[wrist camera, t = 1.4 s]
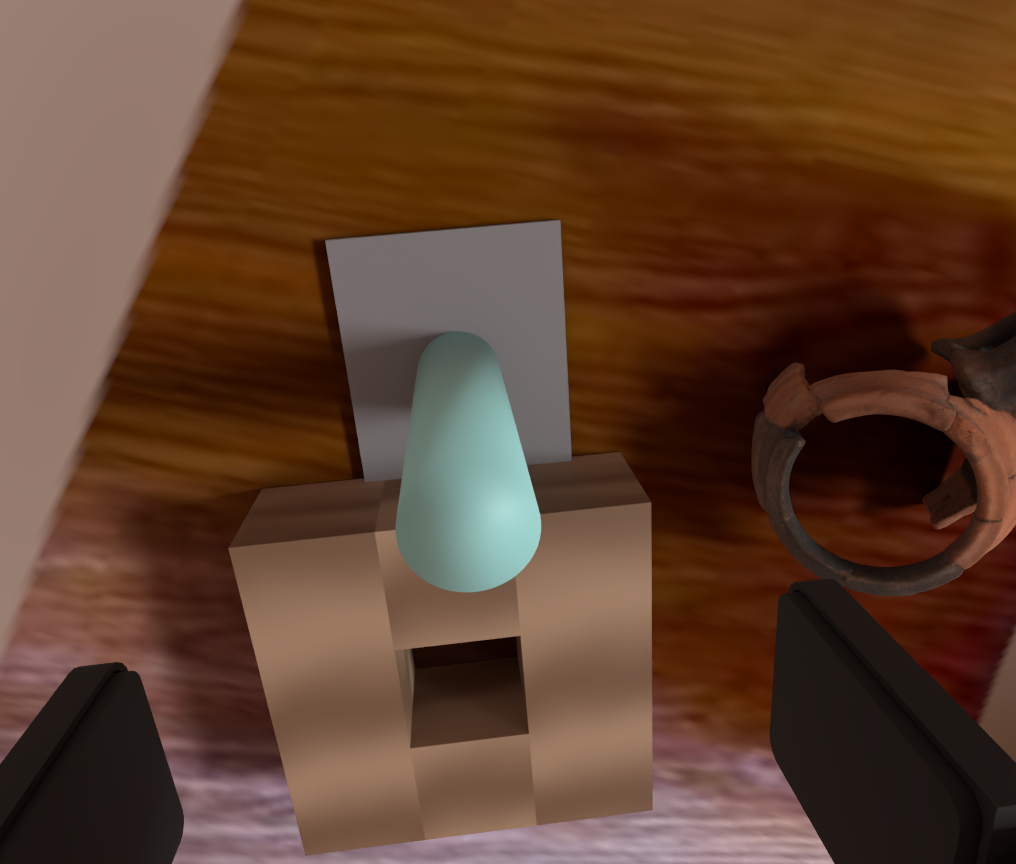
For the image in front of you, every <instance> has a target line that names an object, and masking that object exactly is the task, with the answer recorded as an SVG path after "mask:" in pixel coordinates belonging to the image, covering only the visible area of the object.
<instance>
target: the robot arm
mask: <svg viewBox="0 0 1016 864" xmlns="http://www.w3.org/2000/svg"><path fill="white" fill-rule="evenodd" d="M770 742H771V747H772V751H773V754H774V757H775V759H776V761H777V764H778V765H779V767H780V769H781V771H782V772H783V774H784V776H785V778H786V779H787V781H788V783H789V785H790V786H791V788H792V790H793V792H794V793H795V795H796V797H797V799H798V800H799V802H800V804H801V806H802V807H803V809H804V811H805V813H806V814H807V816H808V818H809V820H810V821H811V823H812V825H813V827H814V828H815V830H816V832H817V834H818V835H819V837H820V839H821V841H822V842H823V844H824V846H825V848H826V849H827V851H828V853H829V855H830V856H831V858H832V860H833V862H834V863H835V864H1016V763H1015V762H1014V761H1013V760H1012V759H1011V757H1009V755H1008V754H1007V753H1006V752H1005V751H1003V749H1002V748H1001V747H1000V746H999V745H998V744H997V743H996V742H995V741H994V740H993V739H992V738H991V737H990V736H989V735H988V734H987V733H986V732H985V731H984V730H983V729H982V728H981V727H980V726H979V725H978V724H977V723H976V722H975V721H974V720H973V719H972V718H971V717H970V716H969V715H968V714H967V713H966V712H965V710H964V709H963V708H962V707H961V706H960V705H959V704H958V703H957V702H956V701H955V700H954V699H953V698H952V697H951V696H950V695H949V694H948V693H947V692H946V691H945V690H944V689H943V688H942V687H941V686H940V685H939V684H938V683H937V682H936V681H935V680H934V679H933V678H932V677H931V676H930V675H929V674H928V673H927V672H926V671H925V670H924V669H922V668H921V667H920V666H919V665H918V664H917V663H916V662H915V661H914V660H913V659H912V658H911V657H910V655H909V654H908V653H907V652H906V651H905V650H904V649H903V648H902V647H901V646H900V645H899V644H898V643H897V642H896V641H895V640H894V639H893V638H892V637H891V636H890V635H889V634H888V633H887V632H886V631H885V630H884V629H883V628H882V627H881V626H880V625H879V624H878V623H877V622H876V621H875V620H874V619H873V618H872V617H871V616H870V615H869V613H868V612H867V611H866V610H865V609H864V608H863V607H862V606H861V605H860V604H859V603H858V602H857V601H856V600H855V599H854V598H853V597H852V596H851V595H850V594H849V593H848V592H847V591H846V590H845V589H844V588H843V587H842V586H841V585H840V584H839V583H838V582H837V581H836V580H834V579H830V578H828V579H819V580H811V581H802V582H795V583H793V584H791V586H790V588H789V592H788V593H786V594H782V595H781V596H780V598H779V602H778V615H777V631H776V646H775V662H774V677H773V693H772V708H771V724H770ZM183 827H184V815H183V810H182V807H181V804H180V800H179V797H178V794H177V791H176V788H175V785H174V781H173V778H172V775H171V772H170V769H169V766H168V763H167V759H166V756H165V753H164V750H163V747H162V744H161V741H160V737H159V734H158V731H157V728H156V725H155V722H154V719H153V715H152V712H151V709H150V706H149V703H148V700H147V697H146V693H145V690H144V687H143V684H142V681H141V678H140V676H139V674H138V673H137V672H135V671H128V670H127V667H126V666H125V665H124V664H123V663H119V662H115V663H106V664H98V665H89V666H81V667H77V668H74V669H73V670H72V671H71V672H70V673H69V674H68V675H67V677H66V678H65V679H64V681H63V682H62V683H61V685H60V686H59V687H58V689H57V690H56V691H55V693H54V694H53V695H52V697H51V698H50V699H49V701H48V702H47V703H46V705H45V706H44V707H43V708H42V710H41V711H40V712H39V714H38V715H37V716H36V718H35V719H34V720H33V722H32V723H31V724H30V726H29V727H28V728H27V730H26V731H25V732H24V734H23V735H22V736H21V738H20V739H19V740H18V742H17V743H16V744H15V746H14V747H13V748H12V749H11V751H10V752H9V753H8V755H7V756H6V757H5V759H4V760H3V761H2V763H1V764H0V864H172V861H173V859H174V856H175V854H176V851H177V849H178V846H179V844H180V841H181V838H182V834H183Z"/></svg>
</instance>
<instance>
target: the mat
mask: <svg viewBox="0 0 1016 864" xmlns="http://www.w3.org/2000/svg"><path fill="white" fill-rule="evenodd" d="M325 243H326V249H327V255H328V261H329V267H330V273H331V279H332V285H333V291H334V297H335V303H336V309H337V315H338V321H339V327H340V333H341V340H342V346H343V352H344V358H345V364H346V370H347V376H348V382H349V388H350V394H351V400H352V406H353V412H354V418H355V424H356V430H357V436H358V443H359V449H360V455H361V461H362V467H363V473H364V479H365V482H373V481H383V480H393V479H402V474H403V467H404V460H405V453H406V446H407V438H408V431H409V424H410V417H411V410H412V402H413V395H414V388H415V381H416V374H417V367H418V362H419V358H420V356H421V354H422V352H423V350H424V349H425V347H426V346H427V345H428V344H429V343H430V342H431V341H432V340H433V339H435V338H436V337H438V336H440V335H442V334H445V333H448V332H454V331H462V332H468V333H472V334H474V335H477V336H479V337H480V338H482V339H483V340H485V341H486V342H487V343H488V344H489V345H490V346H491V347H492V349H493V350H494V352H495V354H496V356H497V359H498V362H499V366H500V369H501V373H502V377H503V380H504V384H505V388H506V391H507V395H508V399H509V402H510V406H511V410H512V413H513V417H514V421H515V424H516V428H517V432H518V435H519V439H520V443H521V446H522V450H523V454H524V457H525V461H526V465H536V464H546V463H555V462H565V461H572V455H571V434H570V414H569V393H568V372H567V351H566V331H565V310H564V289H563V268H562V247H561V227H560V220H559V219H558V220H546V221H535V222H523V223H512V224H500V225H489V226H477V227H465V228H454V229H442V230H431V231H419V232H408V233H396V234H385V235H373V236H362V237H350V238H339V239H327V240H325Z"/></svg>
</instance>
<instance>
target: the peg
mask: <svg viewBox="0 0 1016 864" xmlns="http://www.w3.org/2000/svg"><path fill="white" fill-rule="evenodd" d="M395 531H396V540H397V545H398V548H399V550H400V553H401V555H402V557H403V559H404V560H405V562H406V563H407V565H408V566H409V567H410V569H411V570H413V571H414V572H415V573H416V574H417V575H418V576H419V577H420V578H422V579H423V580H425V581H426V582H428V583H430V584H432V585H434V586H436V587H439V588H442V589H445V590H449V591H455V592H478V591H484V590H488V589H491V588H494V587H497V586H499V585H502V584H504V583H505V582H507V581H509V580H511V579H512V578H513V577H515V576H516V575H517V574H518V573H520V572H521V571H522V570H523V569H524V568H525V566H526V565H527V564H528V563H529V562H530V560H531V558H532V557H533V555H534V553H535V551H536V549H537V547H538V543H539V540H540V535H541V518H540V512H539V509H538V505H537V501H536V498H535V494H534V490H533V487H532V483H531V479H530V476H529V472H528V468H527V465H526V461H525V457H524V454H523V450H522V446H521V443H520V439H519V435H518V432H517V428H516V424H515V421H514V417H513V413H512V410H511V406H510V402H509V399H508V395H507V391H506V388H505V384H504V380H503V377H502V373H501V369H500V366H499V362H498V359H497V356H496V354H495V352H494V350H493V349H492V347H491V346H490V345H489V344H488V343H487V342H486V341H485V340H483V339H482V338H480V337H479V336H477V335H474V334H472V333H468V332H462V331H454V332H448V333H445V334H442V335H440V336H438V337H436V338H435V339H433V340H432V341H431V342H430V343H429V344H428V345H427V346H426V347H425V349H424V350H423V352H422V354H421V356H420V358H419V362H418V367H417V374H416V381H415V388H414V395H413V402H412V410H411V417H410V424H409V431H408V438H407V446H406V453H405V460H404V467H403V474H402V481H401V489H400V496H399V503H398V510H397V517H396V528H395Z"/></svg>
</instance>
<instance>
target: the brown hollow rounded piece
mask: <svg viewBox="0 0 1016 864" xmlns="http://www.w3.org/2000/svg"><path fill="white" fill-rule="evenodd" d="M931 351H932V352H934V353H936V354H937V355H939V356H941V357H943V358H944V359H946V360H947V361H949V362H950V363H951V365H952V368H953V370H954V373H955V376H956V379H957V381H958V383H959V388H960V390H961V392H962V394H963V395H964V397H965V398H961V397H956V396H953V395H950V393H949V392H948V381H947V376H945V375H941V374H937V373H926V372H917V371H902V370H881V371H869V372H855V373H846V374H841V375H836V376H833V377H829V378H826V379H823V380H821V381H818V382H815V383H813V384H812V385H809V384H808V382H807V380H806V379H805V366H804V365H803V364H800V363H797V362H795V363H792V364H791V365H790V366H788V367H787V368H786V369H785V370H783V371H782V372H781V374H780V375H779V376H778V377H777V378H776V379H775V380H774V381H772V383H771V384H770V386H769V387H768V390H767V394H766V395H765V396H764V398H763V403H764V410H763V411H761V412H760V413H759V414H758V415H757V417H756V419H755V422H754V431H753V438H752V454H751V459H752V463H751V467H752V477H753V484H754V488H755V491H756V495H757V499H758V502H759V505H760V506H761V508H762V509H763V510H765V511H766V512H767V513H768V516H769V518H770V524H771V526H772V528H773V529H774V531H775V532H776V534H777V535H778V538H779V540H780V542H781V543H782V544H783V545H784V546H785V547H786V548H787V550H788V551H789V552H790V553H791V554H792V556H793V557H794V558H795V559H796V560H797V561H798V562H799V563H800V564H801V565H803V566H804V567H805V568H807V569H808V570H810V571H811V572H812V573H813V574H815V575H817V576H818V577H820V578H822V579H828V578H830V579H834V580H836V581H837V582H838V583H839V584H840V585H841V586H842V587H847V588H848V589H850V590H854V591H859V592H863V593H870V594H874V595H877V596H881V595H888V596H904V595H914V594H916V593H918V592H923V591H927V590H930V589H933V588H936V587H938V586H941V585H943V584H945V583H947V582H949V581H951V580H953V579H955V578H957V577H959V576H960V575H961V574H962V572H963V570H965V569H967V568H969V567H971V566H972V565H973V564H975V563H976V562H977V561H978V560H979V559H980V558H981V557H982V556H983V555H984V554H986V553H987V552H989V551H990V550H991V549H993V548H994V547H995V546H996V545H998V544H999V543H1000V542H1001V541H1002V540H1003V539H1004V538H1005V537H1006V536H1007V535H1008V534H1009V532H1010V531H1011V530H1012V529H1013V527H1014V526H1015V525H1016V312H1014V313H1012V314H1010V315H1008V316H1007V317H1005V318H1003V319H1001V320H1000V321H998V322H996V323H994V324H993V325H991V326H990V327H988V328H986V329H984V330H982V331H981V332H979V333H977V334H974V335H972V336H968V337H963V338H955V339H940V340H936V341H934V342H933V343H932V345H931ZM821 414H824V415H825V416H826V418H827V419H828V420H829V421H831V422H834V423H835V422H839V421H842V420H845V419H850V418H854V417H859V416H864V415H872V414H885V415H894V416H902V417H906V418H910V419H913V420H916V421H919V422H922V423H924V424H927V425H929V426H931V427H933V428H935V429H937V430H939V431H942V432H944V433H945V434H946V435H947V436H948V437H949V438H950V439H951V440H952V441H954V442H955V443H956V445H957V446H958V447H959V448H960V449H961V450H962V452H963V453H964V455H965V456H966V458H965V460H964V462H963V464H962V466H961V467H960V468H959V469H958V470H957V471H956V472H955V473H954V474H953V475H952V476H951V477H950V478H949V479H947V480H946V481H945V482H944V483H943V484H942V485H941V486H939V487H938V488H936V489H935V490H933V491H932V492H930V493H928V494H927V495H925V496H924V497H923V499H922V501H923V503H924V505H925V507H926V509H927V511H928V512H929V514H930V515H931V517H930V521H931V525H932V526H933V527H934V528H935V529H941V528H944V527H946V526H948V525H950V524H951V523H953V522H955V521H956V520H958V519H959V518H961V517H963V516H965V515H968V514H970V513H972V512H974V511H975V512H974V514H973V517H972V519H971V521H970V523H969V525H968V527H967V528H966V529H965V531H964V532H963V533H962V534H961V535H960V536H959V537H958V538H957V539H956V540H955V541H954V542H953V543H952V544H950V545H949V546H948V547H947V548H946V549H945V550H944V551H943V552H941V553H939V554H938V555H936V556H934V557H932V558H929V559H927V560H924V561H921V562H918V563H914V564H910V565H904V566H898V567H873V566H867V565H859V564H856V563H853V562H850V561H848V560H845V559H842V558H840V557H838V556H836V555H835V554H833V553H831V552H829V551H828V550H826V549H824V548H823V547H822V546H820V545H819V544H818V543H816V542H815V541H814V540H813V539H812V538H811V537H810V536H809V535H808V534H807V533H806V532H805V530H804V529H803V527H802V526H801V525H800V523H799V522H798V520H797V518H796V516H795V514H794V512H793V508H792V504H791V500H790V494H789V477H790V473H791V470H792V467H793V463H794V461H795V459H796V457H797V455H798V454H799V452H800V450H801V449H802V447H803V446H804V444H805V440H804V439H803V438H802V437H801V435H800V434H799V430H801V429H802V428H803V427H804V426H805V425H807V424H808V423H809V422H810V421H811V420H812V419H813V418H815V417H816V416H819V415H821Z"/></svg>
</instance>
